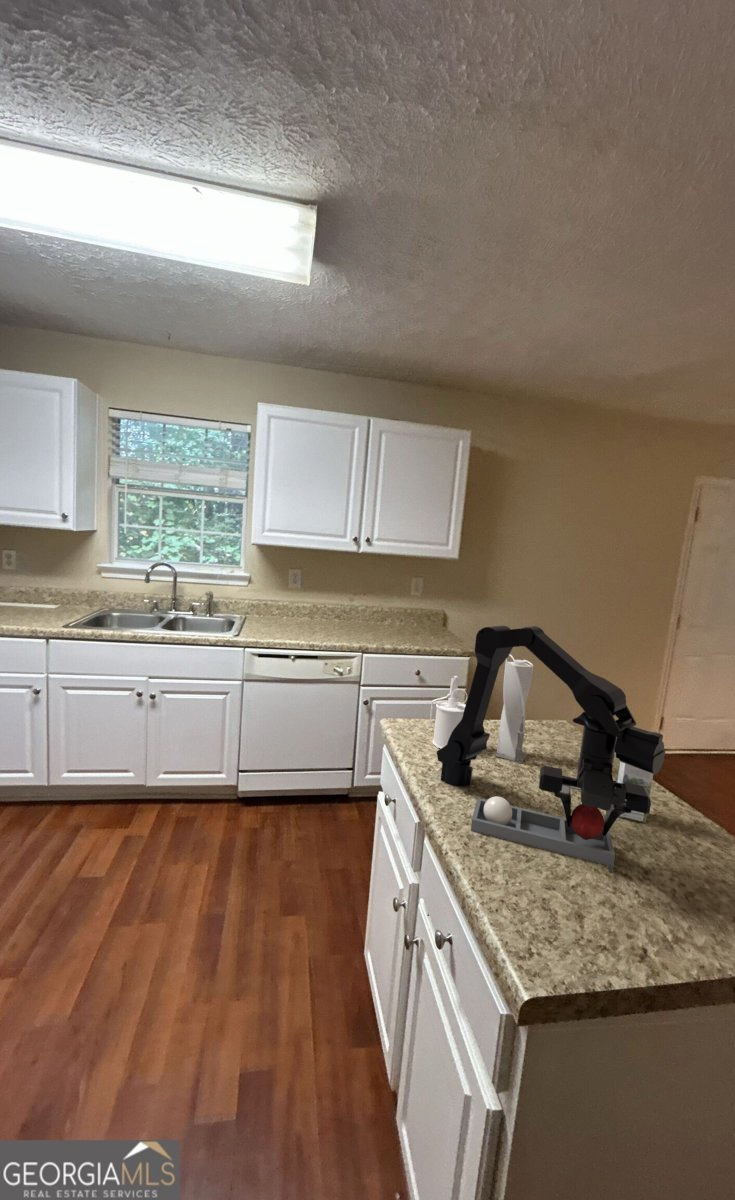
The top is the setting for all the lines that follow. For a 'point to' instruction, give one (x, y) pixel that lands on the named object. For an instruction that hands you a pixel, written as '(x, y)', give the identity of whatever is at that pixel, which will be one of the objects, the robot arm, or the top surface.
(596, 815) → the onion
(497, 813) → the ceramic egg
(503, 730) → the skyscraper
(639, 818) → the syrup box
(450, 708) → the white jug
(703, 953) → the top surface
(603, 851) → the egg tray
